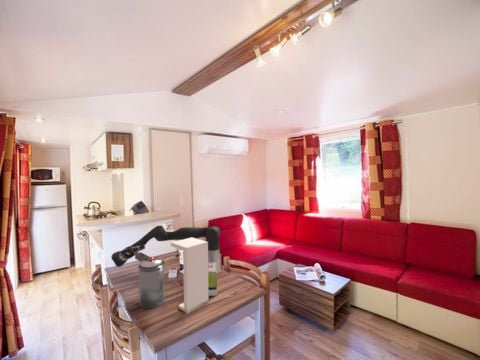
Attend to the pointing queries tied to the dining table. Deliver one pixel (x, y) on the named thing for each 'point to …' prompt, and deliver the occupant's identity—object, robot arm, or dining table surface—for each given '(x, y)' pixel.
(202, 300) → the white bookcase side
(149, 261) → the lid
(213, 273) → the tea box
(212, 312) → the dining table surface
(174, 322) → the dining table surface
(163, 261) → the frying pan
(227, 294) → the dining table surface
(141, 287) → the grey glass jar
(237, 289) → the dining table surface
